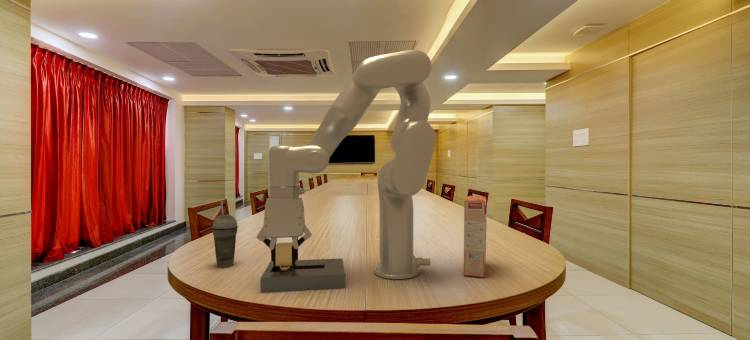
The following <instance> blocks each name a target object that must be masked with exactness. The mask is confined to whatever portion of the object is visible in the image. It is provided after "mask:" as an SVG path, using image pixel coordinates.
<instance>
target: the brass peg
mask: <svg viewBox="0 0 750 340" xmlns="http://www.w3.org/2000/svg"><path fill="white" fill-rule="evenodd" d="M292 248H293V241H292V242H277V243H276V266H280V272H289V271H290V265H292Z"/></svg>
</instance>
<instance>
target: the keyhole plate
mask: <svg viewBox="0 0 750 340" xmlns="http://www.w3.org/2000/svg"><path fill="white" fill-rule="evenodd" d="M343 259H344V258H319V259H318V258H317V259H298V260H296V262H295V264H292V265H290V271H289V272H280V266H276V265H273V261H271V260H270V262H269V263H268V265H267V267H266V268H265V270H264V271H263V273H262V275H261V276H260V278H259V279H260V281H259V282H260V283H259V284H260V285H259V286H260V288H259V289H260V293H278V292H280V293H281V292H296V291H297V292H298V291H313V290H314V291H315V290H317V291H320V290H332V289H333V290H334V289H335V290H336V289H337V290H339V289H345V287H346V276H345V275H346V273H345V267H344V260H343Z"/></svg>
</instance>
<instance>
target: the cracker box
mask: <svg viewBox="0 0 750 340" xmlns="http://www.w3.org/2000/svg"><path fill="white" fill-rule="evenodd" d="M463 201H464V202H463V203H464V208H463V210H464V211H463V212H464V213H463V276H467V277H474V278H483V279H484V278H485V276H486V275H485V274H486V260H487V258H486V257H487V218H488V217H487V213H488V212H487V196H483V195H481V196H480V195H479V196H478V195H474V196H473V195H469V196H466V198H465V199H464V200H463Z"/></svg>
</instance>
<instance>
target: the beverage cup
mask: <svg viewBox="0 0 750 340" xmlns="http://www.w3.org/2000/svg"><path fill="white" fill-rule="evenodd" d="M219 201H220V208H221V209H220V210H221V214H220V215H218V216H217V217H216V218H215V219H214V220H213V222H212V225H211V226H212V227H211V231H212V235H213V242H214V250H215V251H214V252H215V259H216V261H215V262H216V267H217V268H219V269H223V268H225V269H226V268H231V267H233V266H234V261H235V255H236V254H235V253H236V241H237V233H238V227H239V225H238V221H237V220H236V218H235V217H234V216H233V215H231V214H229V213H228V214H227V213H224V204H223V199H219Z"/></svg>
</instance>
